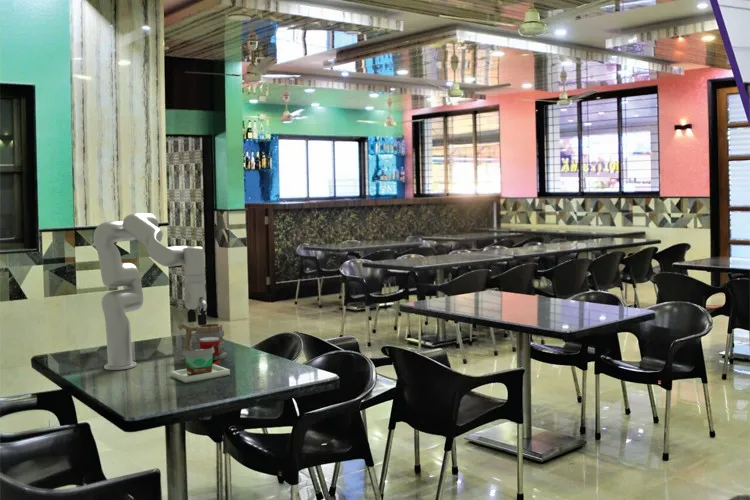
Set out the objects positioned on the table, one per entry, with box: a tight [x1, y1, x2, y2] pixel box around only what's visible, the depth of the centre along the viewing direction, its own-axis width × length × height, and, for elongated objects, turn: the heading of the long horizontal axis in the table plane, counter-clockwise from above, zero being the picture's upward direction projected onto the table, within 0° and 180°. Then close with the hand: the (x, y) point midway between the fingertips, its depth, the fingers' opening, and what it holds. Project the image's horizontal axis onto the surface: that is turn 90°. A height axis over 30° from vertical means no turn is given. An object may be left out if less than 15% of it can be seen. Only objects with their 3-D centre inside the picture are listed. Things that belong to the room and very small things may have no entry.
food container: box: [182, 346, 215, 376], centre depth 297 cm, size 12×6×10 cm, turn 118°
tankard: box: [177, 323, 228, 360], centre depth 333 cm, size 20×13×15 cm, turn 80°
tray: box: [170, 364, 231, 383], centre depth 299 cm, size 14×18×2 cm
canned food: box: [200, 337, 221, 366], centre depth 317 cm, size 8×8×11 cm
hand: (197, 323), depth 298 cm, fingers open, 9 cm apart
